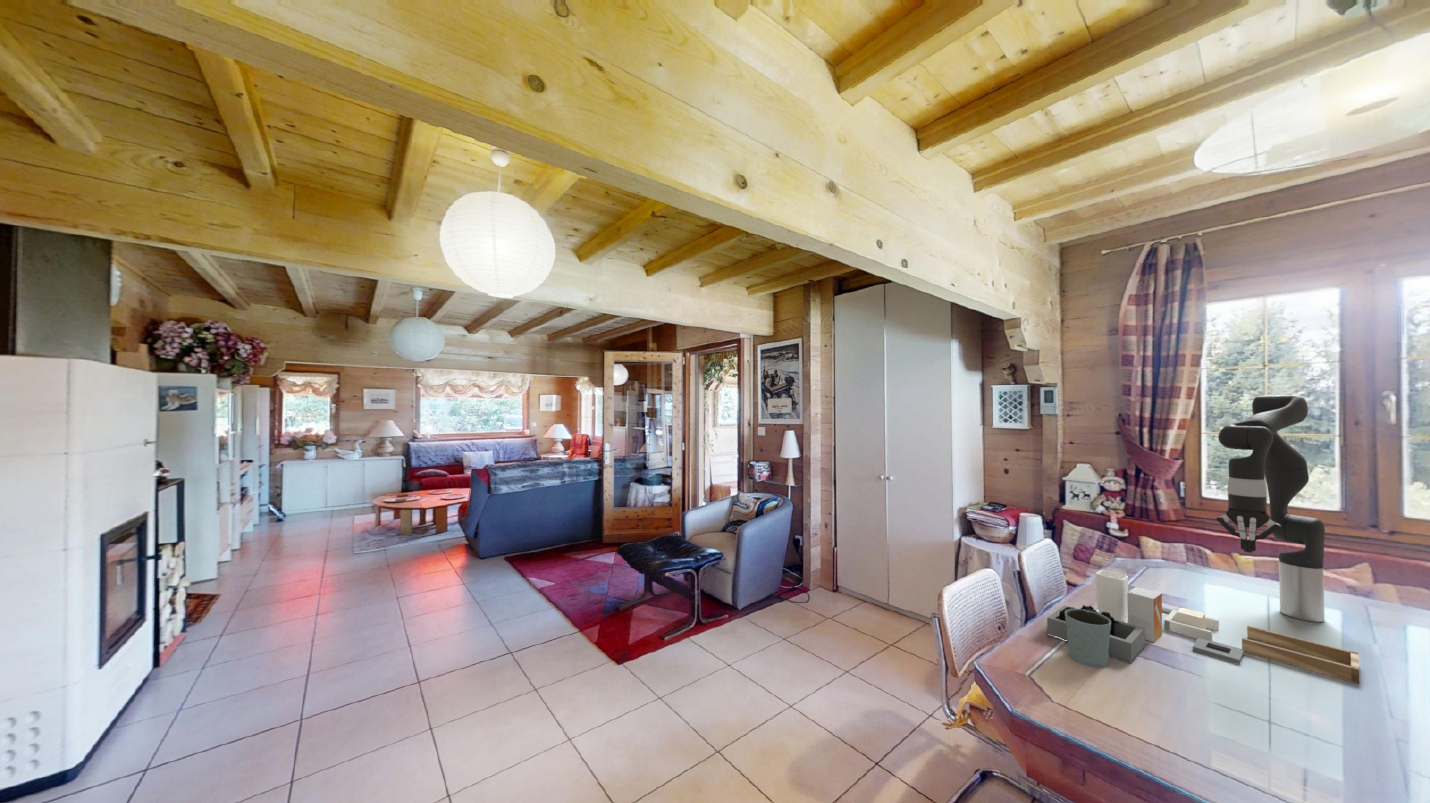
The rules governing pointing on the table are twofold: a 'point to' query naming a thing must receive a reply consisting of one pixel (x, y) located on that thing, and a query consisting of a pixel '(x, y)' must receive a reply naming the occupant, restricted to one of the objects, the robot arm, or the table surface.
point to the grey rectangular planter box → (1120, 646)
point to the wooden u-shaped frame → (1299, 658)
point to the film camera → (1062, 613)
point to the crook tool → (1166, 610)
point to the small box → (1145, 611)
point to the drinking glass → (1088, 637)
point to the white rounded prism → (1112, 593)
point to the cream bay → (1189, 630)
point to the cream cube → (1191, 618)
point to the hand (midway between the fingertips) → (1248, 551)
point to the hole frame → (1218, 650)
